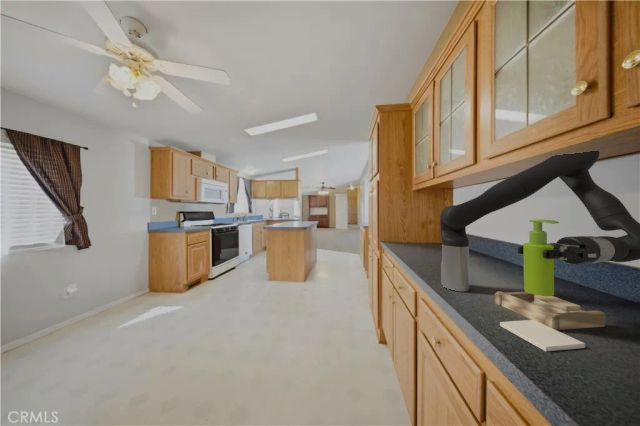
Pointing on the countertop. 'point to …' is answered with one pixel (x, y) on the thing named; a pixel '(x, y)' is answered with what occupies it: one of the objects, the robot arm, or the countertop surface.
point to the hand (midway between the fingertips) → (531, 252)
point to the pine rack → (548, 312)
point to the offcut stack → (555, 304)
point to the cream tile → (542, 335)
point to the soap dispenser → (538, 262)
